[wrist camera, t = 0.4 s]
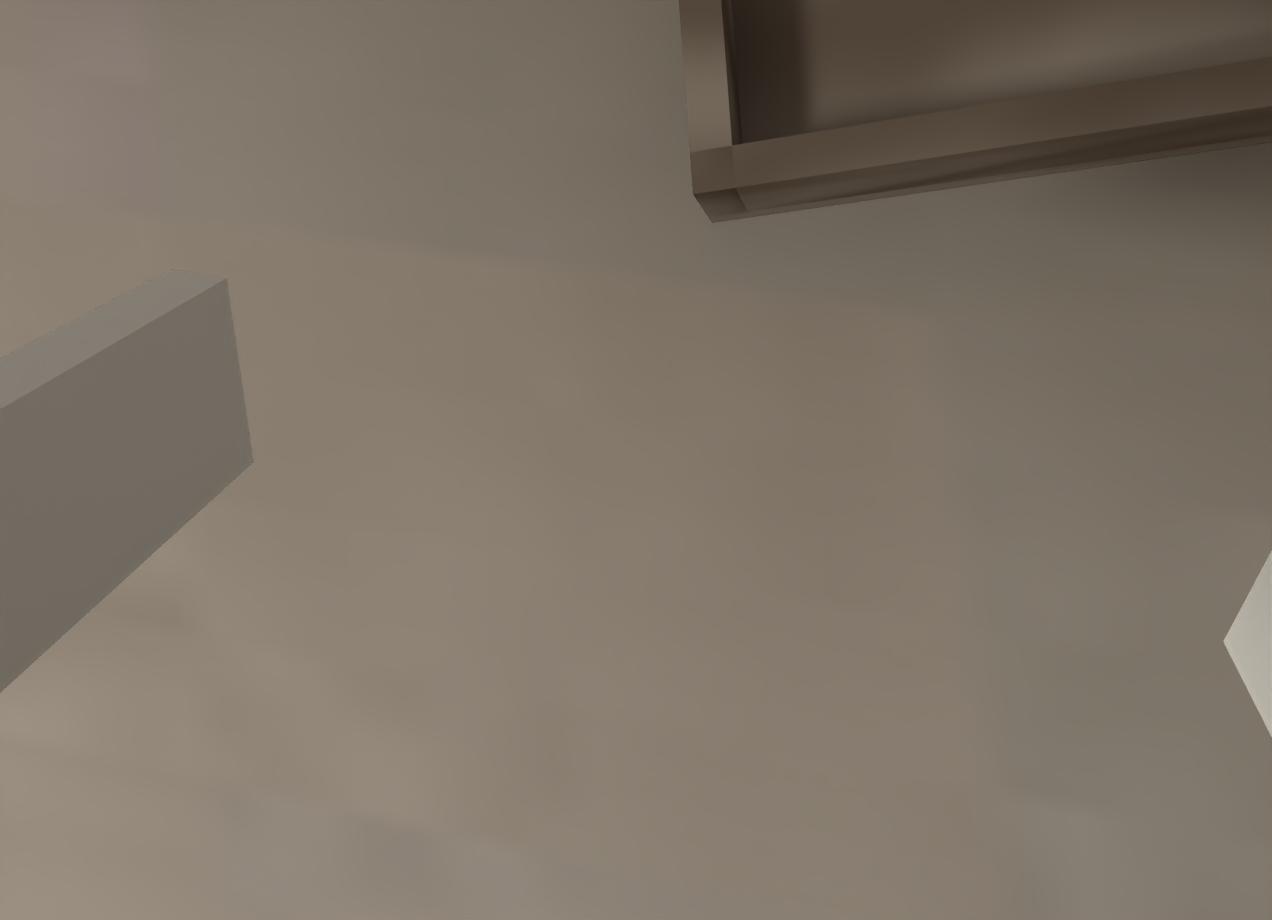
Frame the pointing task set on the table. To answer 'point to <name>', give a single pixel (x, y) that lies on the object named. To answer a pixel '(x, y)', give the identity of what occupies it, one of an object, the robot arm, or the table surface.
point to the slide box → (957, 92)
